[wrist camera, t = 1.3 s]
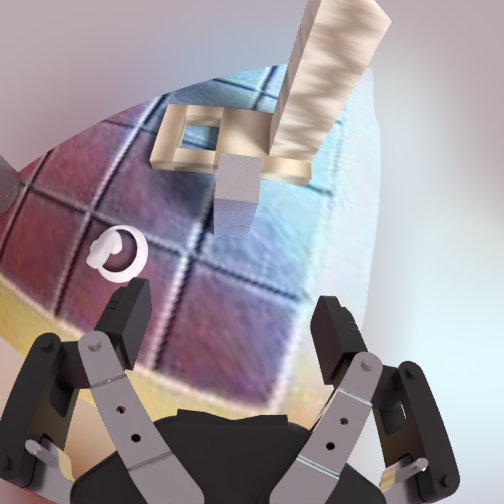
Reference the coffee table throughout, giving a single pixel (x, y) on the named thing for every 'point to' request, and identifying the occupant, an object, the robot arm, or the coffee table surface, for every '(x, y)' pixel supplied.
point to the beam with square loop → (285, 99)
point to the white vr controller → (113, 244)
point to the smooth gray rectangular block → (236, 195)
